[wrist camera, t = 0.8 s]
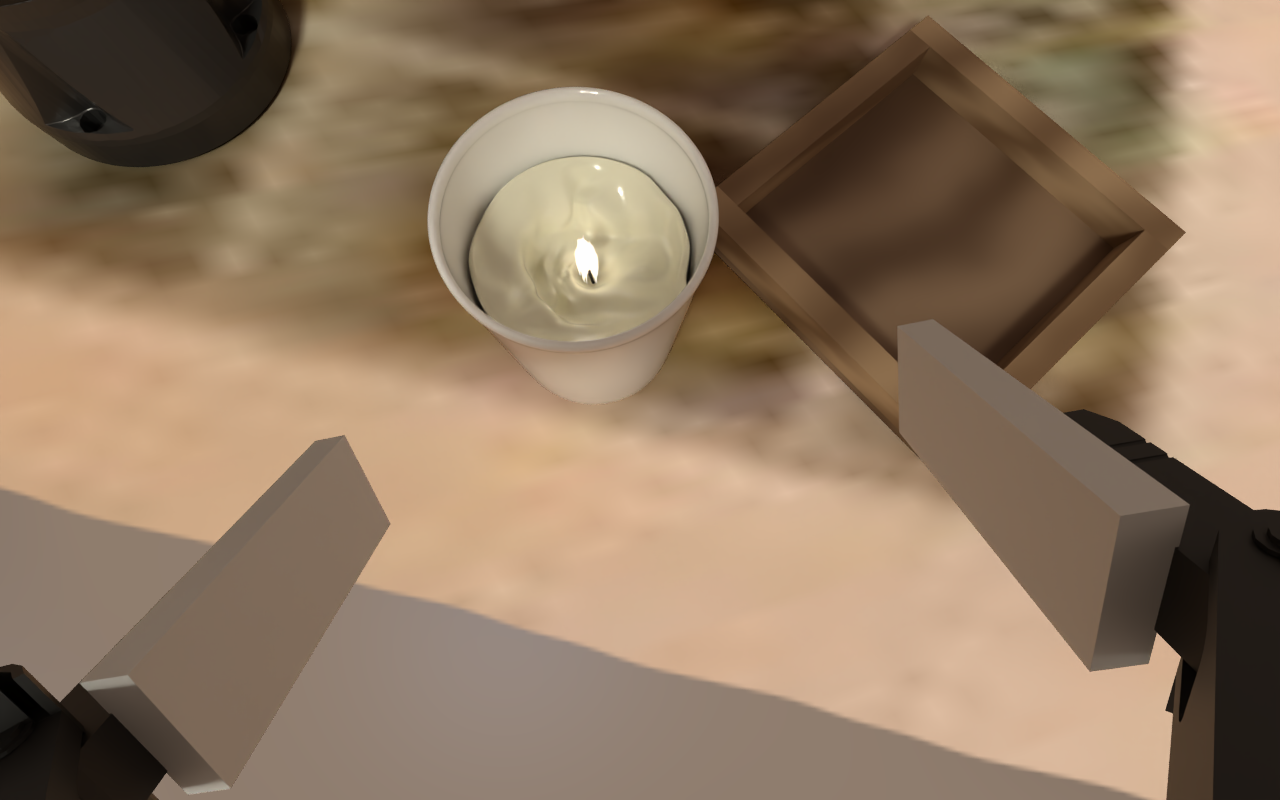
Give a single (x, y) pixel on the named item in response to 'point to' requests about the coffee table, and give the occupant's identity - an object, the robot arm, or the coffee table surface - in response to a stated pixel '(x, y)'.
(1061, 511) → the robot arm
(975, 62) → the walnut tray
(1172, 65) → the coffee table surface
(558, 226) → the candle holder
